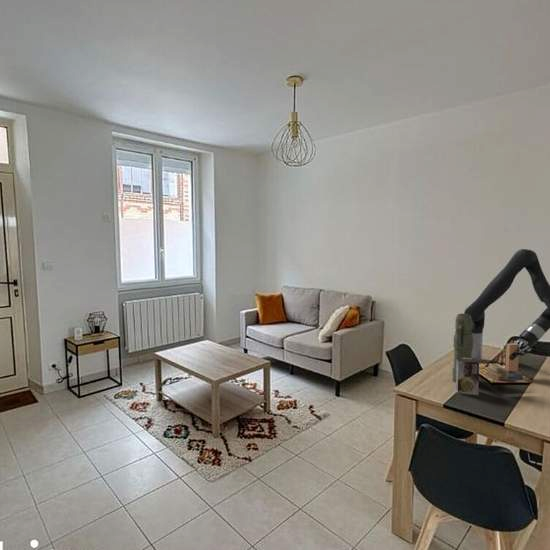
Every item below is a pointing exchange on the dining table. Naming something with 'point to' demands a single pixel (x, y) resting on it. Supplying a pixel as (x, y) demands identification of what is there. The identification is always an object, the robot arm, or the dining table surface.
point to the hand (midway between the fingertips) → (508, 358)
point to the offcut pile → (497, 371)
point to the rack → (512, 376)
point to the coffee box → (467, 375)
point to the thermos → (462, 339)
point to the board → (513, 364)
